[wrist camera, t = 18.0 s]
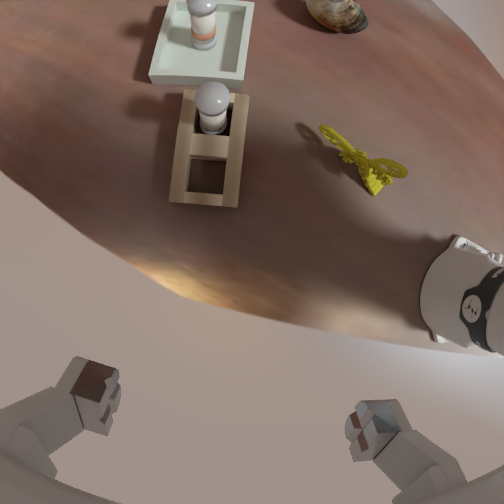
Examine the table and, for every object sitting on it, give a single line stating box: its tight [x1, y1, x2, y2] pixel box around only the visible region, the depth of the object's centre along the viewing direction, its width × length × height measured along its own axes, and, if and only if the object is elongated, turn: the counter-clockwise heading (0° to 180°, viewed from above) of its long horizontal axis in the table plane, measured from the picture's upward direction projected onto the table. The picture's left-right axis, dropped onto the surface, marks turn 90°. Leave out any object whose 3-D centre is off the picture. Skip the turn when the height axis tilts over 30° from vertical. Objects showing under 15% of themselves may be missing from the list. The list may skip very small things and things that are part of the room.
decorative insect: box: [319, 124, 408, 196], centre depth 36 cm, size 13×3×10 cm
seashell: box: [306, 0, 368, 34], centre depth 31 cm, size 10×6×8 cm, turn 64°
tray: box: [148, 0, 254, 89], centre depth 33 cm, size 12×14×3 cm
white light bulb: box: [195, 81, 230, 135], centre depth 31 cm, size 3×3×10 cm
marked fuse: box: [186, 0, 217, 51], centre depth 28 cm, size 3×3×10 cm
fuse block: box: [169, 90, 250, 208], centre depth 35 cm, size 8×14×3 cm, turn 174°
